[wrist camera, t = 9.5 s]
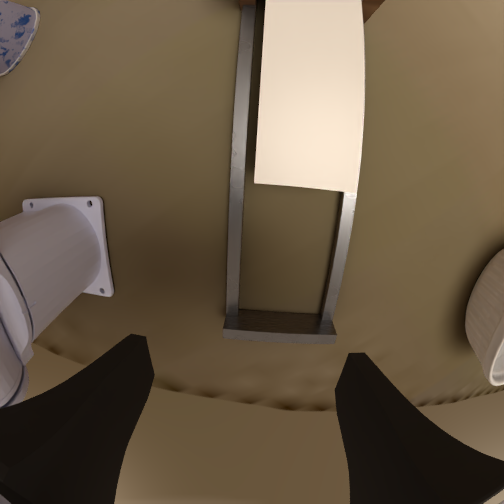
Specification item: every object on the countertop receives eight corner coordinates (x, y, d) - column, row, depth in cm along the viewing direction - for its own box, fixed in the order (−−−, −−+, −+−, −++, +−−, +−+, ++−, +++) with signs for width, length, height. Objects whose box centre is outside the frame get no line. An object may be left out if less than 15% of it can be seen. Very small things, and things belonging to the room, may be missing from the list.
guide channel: (227, 317, 20) (222, 337, 18) (243, 10, 12) (240, -8, 10) (328, 323, 20) (334, 343, 17) (360, 24, 12) (371, 10, 9)
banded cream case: (257, 173, 16) (252, 183, 11) (268, -17, 11) (268, -59, 6) (331, 180, 16) (357, 193, 11) (337, -8, 11) (356, -46, 6)
